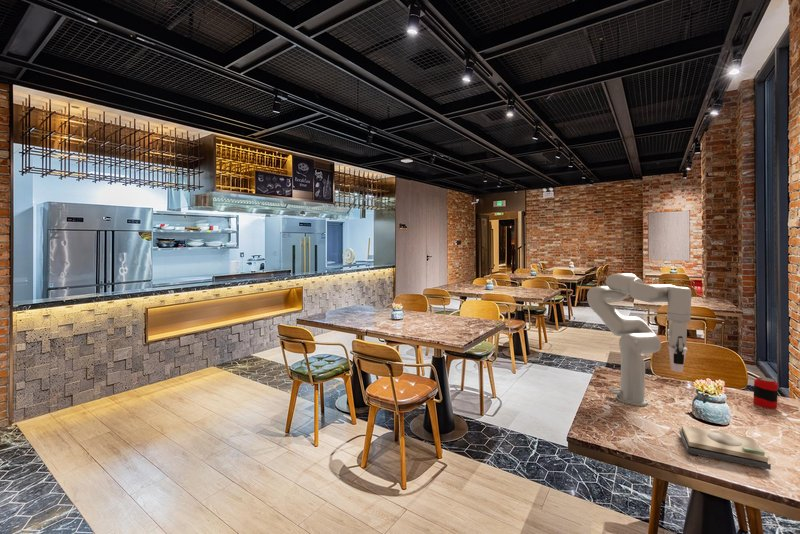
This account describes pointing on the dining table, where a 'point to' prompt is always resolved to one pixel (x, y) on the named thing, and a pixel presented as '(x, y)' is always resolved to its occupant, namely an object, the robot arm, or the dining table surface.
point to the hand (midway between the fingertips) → (677, 361)
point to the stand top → (724, 443)
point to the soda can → (765, 393)
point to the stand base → (723, 455)
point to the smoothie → (673, 366)
